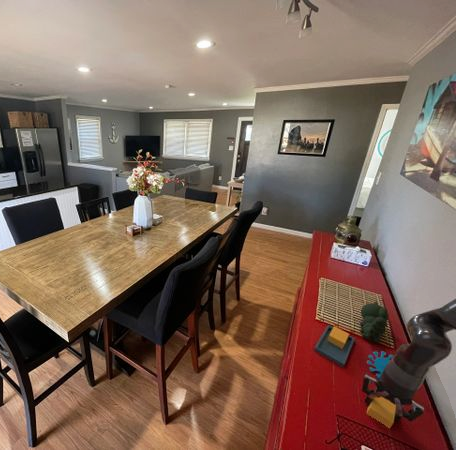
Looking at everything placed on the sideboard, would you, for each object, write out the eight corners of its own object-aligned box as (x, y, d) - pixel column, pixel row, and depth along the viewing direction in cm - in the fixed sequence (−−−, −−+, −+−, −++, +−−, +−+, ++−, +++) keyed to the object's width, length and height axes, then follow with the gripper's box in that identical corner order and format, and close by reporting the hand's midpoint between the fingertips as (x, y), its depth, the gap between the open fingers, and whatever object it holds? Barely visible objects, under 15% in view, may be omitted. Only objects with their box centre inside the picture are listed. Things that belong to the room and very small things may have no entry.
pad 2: (392, 411, 78) (396, 405, 77) (389, 429, 73) (393, 422, 72) (370, 397, 82) (374, 391, 81) (366, 413, 77) (370, 407, 76)
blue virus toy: (361, 365, 91) (376, 344, 92) (359, 365, 96) (373, 346, 96) (398, 391, 84) (414, 369, 84) (394, 391, 88) (409, 369, 89)
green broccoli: (381, 356, 99) (382, 318, 116) (401, 323, 91) (399, 288, 107) (353, 343, 105) (358, 309, 121) (369, 311, 96) (372, 280, 113)
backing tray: (353, 341, 103) (355, 338, 103) (342, 368, 92) (344, 364, 91) (326, 328, 110) (327, 324, 110) (313, 350, 99) (314, 347, 98)
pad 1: (346, 339, 104) (349, 333, 103) (342, 349, 99) (345, 343, 98) (331, 331, 108) (334, 326, 107) (326, 340, 103) (329, 335, 102)
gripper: (369, 367, 73) (350, 402, 80) (437, 405, 64) (409, 441, 70) (373, 353, 78) (355, 387, 85) (437, 386, 68) (411, 422, 75)
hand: (380, 411), depth 77 cm, fingers closed on pad 2, 5 cm apart
